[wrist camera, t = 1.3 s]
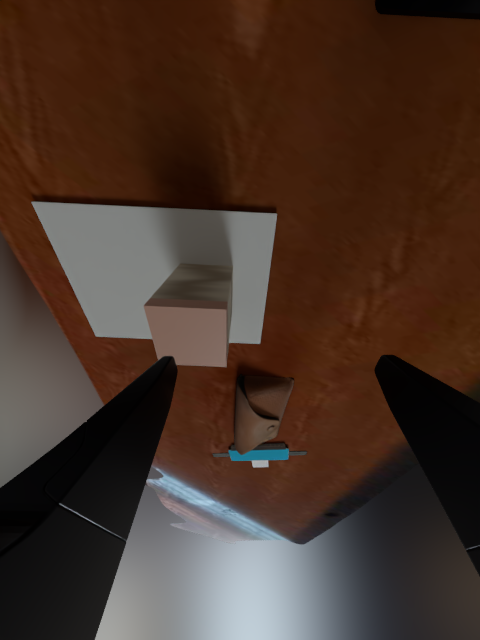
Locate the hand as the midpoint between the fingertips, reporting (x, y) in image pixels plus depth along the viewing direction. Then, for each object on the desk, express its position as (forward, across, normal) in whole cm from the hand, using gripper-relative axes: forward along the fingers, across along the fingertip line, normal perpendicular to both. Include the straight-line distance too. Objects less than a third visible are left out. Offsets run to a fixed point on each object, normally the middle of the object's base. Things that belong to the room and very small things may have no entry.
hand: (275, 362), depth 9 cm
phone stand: (+13, -1, +42) cm, 44 cm away
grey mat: (+12, +9, +2) cm, 15 cm away
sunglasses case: (+13, -1, +24) cm, 28 cm away
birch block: (+12, +5, +2) cm, 13 cm away
